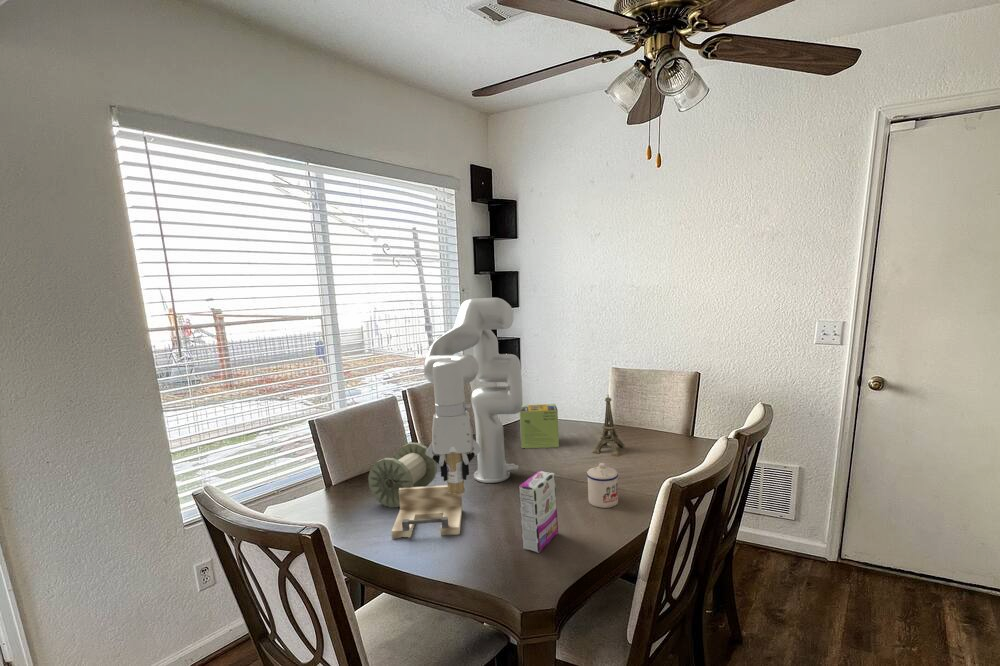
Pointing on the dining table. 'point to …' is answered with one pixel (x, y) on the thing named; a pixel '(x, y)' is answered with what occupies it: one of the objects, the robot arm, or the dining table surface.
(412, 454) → the spool
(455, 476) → the sprinkles bottle
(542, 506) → the candy bar box
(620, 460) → the dining table surface
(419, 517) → the wooden stand
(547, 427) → the protein box
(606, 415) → the eiffel tower
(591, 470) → the teacup with lid
